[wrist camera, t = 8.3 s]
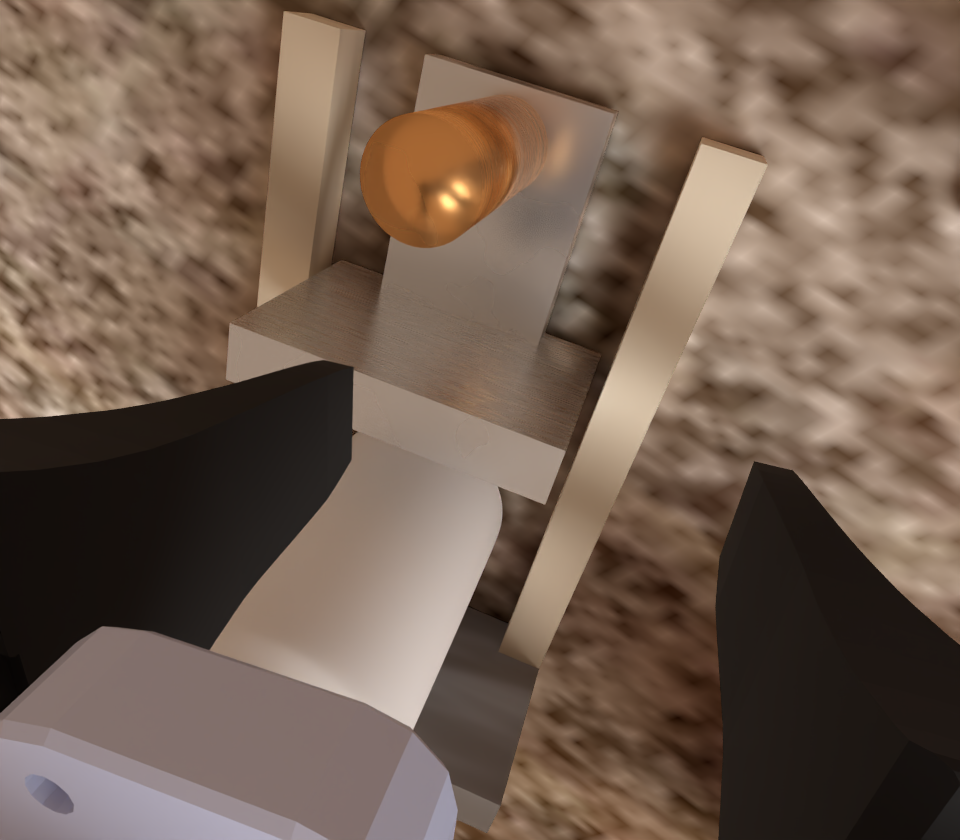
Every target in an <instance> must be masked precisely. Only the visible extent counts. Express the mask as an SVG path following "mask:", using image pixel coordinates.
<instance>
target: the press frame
mask: <svg viewBox="0 0 960 840" xmlns="http://www.w3.org/2000/svg"><path fill="white" fill-rule="evenodd" d="M365 32H366V30H363V29H359V28H356V27H353V26H350V25H347V24H344V23H340V22H337V21H334V20H331V19H328V18H325V17H321V16H318V15H315V14H311V13H300V12H289V11H284V14H283V25H282V36H281V47H280V58H279V69H278V80H277V91H276V102H275V113H274V124H273V135H272V147H271V158H270V169H269V180H268V191H267V202H266V213H265V224H264V235H263V246H262V257H261V268H260V279H259V290H258V301H257V307H259V306H261V305H262V304H264V303H266V302H268V301H269V300H271V299H273V298H275V297H277V296H278V295H280V294H282V293H284V292H285V291H287V290H289V289H291V288H292V287H294V286H296V285H298V284H299V283H301V282H303V281H305V280H307V279H308V278H310V277H312V276H314V275H315V274H317V273H319V272H321V271H322V270H324V269H326V268H328V267H329V266H331V264H332V257H333V250H334V243H335V237H336V230H337V223H338V216H339V209H340V202H341V196H342V189H343V182H344V175H345V168H346V161H347V155H348V148H349V141H350V134H351V127H352V120H353V114H354V107H355V100H356V93H357V86H358V79H359V73H360V66H361V59H362V52H363V45H364V38H365ZM767 165H768V164H767V162H766V160H765V158H764V156H761V155H758V154H755V153H752V152H748V151H745V150H742V149H739V148H736V147H733V146H730V145H726V144H723V143H720V142H717V141H714V140H711V139H707V138H704V137H702V139H701V141H700V144H699V146H698V149H697V151H696V154H695V156H694V159H693V161H692V164H691V166H690V169H689V171H688V174H687V176H686V179H685V181H684V184H683V186H682V189H681V191H680V194H679V196H678V199H677V201H676V204H675V206H674V209H673V211H672V214H671V216H670V219H669V222H668V224H667V227H666V229H665V232H664V234H663V237H662V239H661V242H660V244H659V247H658V249H657V252H656V254H655V257H654V259H653V262H652V264H651V267H650V269H649V272H648V274H647V277H646V279H645V282H644V284H643V287H642V289H641V292H640V294H639V297H638V299H637V302H636V304H635V307H634V309H633V312H632V314H631V317H630V319H629V322H628V324H627V327H626V330H625V332H624V335H623V337H622V340H621V342H620V345H619V347H618V350H617V352H616V355H615V357H614V360H613V362H612V365H611V367H610V370H609V372H608V375H607V377H606V380H605V382H604V385H603V387H602V390H601V392H600V395H599V397H598V400H597V402H596V405H595V407H594V410H593V412H592V415H591V417H590V420H589V422H588V425H587V427H586V430H585V432H584V435H583V438H582V440H581V443H580V445H579V448H578V450H577V453H576V455H575V458H574V460H573V463H572V465H571V468H570V470H569V473H568V475H567V478H566V480H565V483H564V485H563V488H562V490H561V493H560V495H559V498H558V500H557V503H556V505H555V508H554V510H553V513H552V515H551V518H550V520H549V523H548V525H547V528H546V530H545V533H544V535H543V538H542V540H541V543H540V546H539V548H538V551H537V553H536V556H535V558H534V561H533V563H532V566H531V568H530V571H529V573H528V576H527V578H526V581H525V583H524V586H523V588H522V591H521V593H520V596H519V598H518V601H517V603H516V606H515V608H514V611H513V613H512V616H511V618H510V621H509V623H506V622H503V621H501V620H498V619H496V618H494V617H491V616H489V615H486V614H484V613H482V612H479V611H477V610H474V609H472V608H470V607H467V609H466V611H465V614H464V616H463V618H462V620H461V623H460V625H459V627H458V630H457V632H456V634H455V636H454V639H453V641H452V643H451V645H450V648H449V650H448V652H447V655H446V657H445V659H444V661H443V664H442V666H441V668H440V670H439V673H438V675H437V677H436V679H435V682H434V684H433V686H432V688H431V691H430V693H429V695H428V697H427V700H426V702H425V704H424V706H423V709H422V711H421V713H420V715H419V718H418V720H417V722H416V724H415V727H414V729H413V730H414V732H415V733H416V734H417V735H418V736H419V737H420V738H421V739H422V740H423V741H424V743H425V744H426V745H427V746H428V747H429V748H430V749H431V750H432V751H433V752H434V754H435V755H436V756H437V757H438V758H439V759H440V760H441V761H442V762H443V764H444V765H445V767H446V769H447V770H448V772H449V776H450V780H451V784H452V788H453V793H454V797H455V801H456V805H457V809H458V812H457V818H456V819H457V820H459V821H462V822H464V823H466V824H468V825H470V826H472V827H475V828H477V829H479V830H481V831H483V832H486V833H487V832H488V830H489V828H490V826H491V824H492V822H493V820H494V818H495V816H496V814H497V812H498V810H499V808H500V806H501V802H502V798H503V795H504V791H505V788H506V784H507V781H508V777H509V773H510V770H511V766H512V763H513V759H514V756H515V752H516V749H517V745H518V741H519V738H520V734H521V731H522V727H523V724H524V720H525V716H526V713H527V709H528V706H529V702H530V699H531V695H532V691H533V688H534V684H535V681H536V677H537V674H538V670H539V667H540V665H541V663H542V661H543V659H544V656H545V654H546V652H547V650H548V648H549V645H550V643H551V641H552V639H553V637H554V634H555V632H556V630H557V628H558V626H559V623H560V621H561V619H562V617H563V615H564V612H565V610H566V608H567V606H568V604H569V601H570V599H571V597H572V595H573V593H574V590H575V588H576V586H577V584H578V582H579V579H580V577H581V575H582V573H583V571H584V568H585V566H586V564H587V562H588V560H589V557H590V555H591V553H592V551H593V549H594V546H595V544H596V542H597V540H598V538H599V535H600V533H601V531H602V529H603V527H604V524H605V522H606V520H607V518H608V516H609V513H610V511H611V509H612V507H613V504H614V502H615V500H616V498H617V496H618V493H619V491H620V489H621V487H622V485H623V482H624V480H625V478H626V476H627V474H628V471H629V469H630V467H631V465H632V463H633V460H634V458H635V456H636V454H637V452H638V449H639V447H640V445H641V443H642V441H643V438H644V436H645V434H646V432H647V430H648V427H649V425H650V423H651V421H652V419H653V416H654V414H655V412H656V410H657V408H658V405H659V403H660V401H661V399H662V397H663V394H664V392H665V390H666V388H667V386H668V383H669V381H670V379H671V377H672V375H673V372H674V370H675V368H676V366H677V364H678V361H679V359H680V357H681V355H682V353H683V350H684V348H685V346H686V344H687V342H688V339H689V337H690V335H691V333H692V331H693V328H694V326H695V324H696V322H697V320H698V317H699V315H700V313H701V311H702V309H703V306H704V304H705V302H706V300H707V297H708V295H709V293H710V291H711V289H712V286H713V284H714V282H715V280H716V278H717V275H718V273H719V271H720V269H721V267H722V264H723V262H724V260H725V258H726V256H727V253H728V251H729V249H730V247H731V245H732V242H733V240H734V238H735V236H736V234H737V231H738V229H739V227H740V225H741V223H742V220H743V218H744V216H745V214H746V212H747V209H748V207H749V205H750V203H751V201H752V198H753V196H754V194H755V192H756V190H757V187H758V185H759V183H760V181H761V179H762V176H763V174H764V172H765V170H766V168H767Z"/></svg>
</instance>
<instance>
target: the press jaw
mask: <svg viewBox="0 0 960 840" xmlns="http://www.w3.org/2000/svg"><path fill="white" fill-rule="evenodd" d="M618 112H619V111H617V110H614V109H611V108H608V107H604V106H601V105H598V104H595V103H592V102H589V101H585V100H582V99H579V98H576V97H573V96H570V95H566V94H563V93H560V92H557V91H554V90H551V89H548V88H544V87H541V86H538V85H535V84H532V83H529V82H525V81H522V80H519V79H516V78H513V77H510V76H506V75H503V74H500V73H497V72H494V71H491V70H487V69H484V68H481V67H478V66H475V65H472V64H468V63H465V62H462V61H459V60H456V59H453V58H449V57H446V56H443V55H440V54H425V57H424V63H423V68H422V73H421V79H420V84H419V89H418V94H417V100H416V105H415V110H414V112H412V113H408V114H403V115H399V116H397V117H394V118H392V119H390V120H388V121H387V122H385V123H384V124H383V125H381V126H380V127H379V128H378V129H377V130H376V131H375V132H374V134H373V135H372V137H371V138H370V139H369V141H368V143H367V145H366V147H365V150H364V153H363V156H362V161H361V168H360V182H361V189H362V193H363V197H364V200H365V203H366V205H367V207H368V209H369V211H370V213H371V215H372V216H373V218H374V220H375V221H376V222H377V223H378V225H379V226H380V227H381V228H382V229H383V230H384V231H385V232H386V233H387V234H389V235H390V236H391V237H390V243H389V248H388V253H387V259H386V264H385V269H384V275H383V274H380V273H377V272H374V271H371V270H369V269H366V268H363V267H360V266H358V265H355V264H352V263H349V262H347V261H344V260H340V261H338V262H337V263H335V264H333V265H331V266H329V267H328V268H326V269H324V270H322V271H321V272H319V273H317V274H315V275H314V276H312V277H310V278H308V279H307V280H305V281H303V282H301V283H299V284H298V285H296V286H294V287H292V288H291V289H289V290H287V291H285V292H284V293H282V294H280V295H278V296H277V297H275V298H273V299H271V300H269V301H268V302H266V303H264V304H262V305H261V306H259V307H257V308H255V309H254V310H252V311H250V312H248V313H246V314H245V315H243V316H241V317H239V318H238V319H236V320H234V321H232V322H231V323H230V326H229V340H228V355H227V369H226V380H228V381H231V382H234V383H237V382H241V381H244V380H248V379H251V378H254V377H258V376H261V375H265V374H268V373H272V372H275V371H279V370H282V369H286V368H289V367H293V366H297V365H300V364H304V363H309V362H314V361H320V360H326V361H331V362H335V363H339V364H343V365H347V366H352V367H354V374H353V422H352V429H353V430H356V431H358V432H361V433H363V434H366V435H368V436H371V437H374V438H376V439H379V440H381V441H384V442H386V443H389V444H391V445H394V446H396V447H399V448H402V449H404V450H407V451H409V452H412V453H414V454H417V455H419V456H422V457H424V458H427V459H430V460H432V461H435V462H437V463H440V464H442V465H445V466H447V467H450V468H452V469H455V470H458V471H460V472H463V473H465V474H468V475H470V476H473V477H475V478H478V479H480V480H483V481H486V482H488V483H491V484H493V485H496V486H498V487H501V488H503V489H506V490H508V491H511V492H514V493H516V494H519V495H521V496H524V497H526V498H529V499H531V500H534V501H536V502H539V503H542V504H544V505H545V504H546V501H547V499H548V496H549V493H550V491H551V488H552V486H553V483H554V481H555V478H556V475H557V473H558V470H559V468H560V465H561V463H562V460H563V457H564V455H565V452H566V450H567V447H568V444H569V441H570V439H571V436H572V433H573V430H574V428H575V425H576V422H577V419H578V417H579V414H580V411H581V408H582V406H583V403H584V400H585V398H586V395H587V392H588V389H589V387H590V384H591V381H592V378H593V376H594V373H595V370H596V367H597V365H598V362H599V359H600V356H601V353H598V352H596V351H593V350H590V349H587V348H585V347H582V346H579V345H576V344H574V343H571V342H568V341H565V340H562V339H560V338H557V337H554V336H551V335H549V334H546V333H545V332H546V329H547V326H548V323H549V320H550V317H551V314H552V311H553V308H554V305H555V302H556V299H557V296H558V293H559V290H560V287H561V284H562V281H563V278H564V275H565V272H566V269H567V266H568V263H569V260H570V257H571V254H572V251H573V248H574V244H575V241H576V238H577V235H578V232H579V229H580V226H581V223H582V220H583V217H584V214H585V211H586V208H587V205H588V202H589V199H590V196H591V193H592V190H593V187H594V184H595V181H596V178H597V175H598V172H599V169H600V166H601V163H602V160H603V157H604V154H605V151H606V148H607V145H608V142H609V139H610V136H611V133H612V130H613V127H614V124H615V121H616V118H617V115H618Z"/></svg>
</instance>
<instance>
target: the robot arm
mask: <svg viewBox="0 0 960 840" xmlns="http://www.w3.org/2000/svg"><path fill="white" fill-rule="evenodd" d="M353 374H354V367H352V366H347V365H343V364H339V363H335V362H331V361H326V360H320V361H314V362H309V363H304V364H300V365H297V366H293V367H289V368H286V369H282V370H279V371H275V372H272V373H268V374H265V375H261V376H258V377H254V378H251V379H248V380H244V381H241V382H237V383H234V384H230V385H227V386H223V387H219V388H215V389H211V390H207V391H203V392H199V393H195V394H191V395H187V396H183V397H179V398H175V399H170V400H166V401H161V402H156V403H151V404H145V405H139V406H133V407H127V408H121V409H115V410H108V411H98V412H89V413H79V414H70V415H60V416H50V417H35V418H16V419H0V840H453V837H454V831H455V825H456V818H457V812H458V809H457V805H456V801H455V797H454V793H453V788H452V784H451V780H450V776H449V772H448V770H447V769H446V767H445V765H444V764H443V762H442V761H441V760H440V759H439V758H438V757H437V756H436V755H435V754H434V752H433V751H432V750H431V749H430V748H429V747H428V746H427V745H426V744H425V743H424V741H423V740H422V739H421V738H420V737H419V736H418V735H417V734H416V733H415V732H414V730H413V729H412V728H411V727H409V726H407V725H405V724H403V723H402V722H400V721H398V720H396V719H394V718H392V717H390V716H388V715H387V714H385V713H383V712H381V711H379V710H377V709H375V708H374V707H372V706H370V705H368V704H366V703H364V702H361V701H358V700H355V699H352V698H349V697H346V696H343V695H340V694H337V693H334V692H331V691H328V690H325V689H322V688H319V687H316V686H313V685H311V684H308V683H305V682H302V681H299V680H296V679H293V678H290V677H287V676H284V675H281V674H278V673H275V672H272V671H269V670H266V669H263V668H260V667H257V666H254V665H251V664H248V663H245V662H242V661H239V660H236V659H233V658H230V657H227V656H224V655H222V654H219V653H216V652H213V651H210V649H211V647H212V646H213V644H214V643H215V641H216V640H217V638H218V637H219V635H220V634H221V632H222V631H223V629H224V628H225V626H226V625H227V623H228V622H229V620H230V619H231V617H232V616H233V614H234V613H235V612H236V610H237V609H238V607H239V606H240V604H241V603H242V601H243V600H244V598H245V597H246V596H247V595H248V593H249V592H250V591H251V589H252V588H253V587H254V586H255V584H256V583H257V582H258V580H259V579H260V578H261V577H262V576H263V575H264V573H265V572H266V571H267V570H268V569H269V568H270V566H271V565H272V564H273V563H274V562H275V561H276V559H277V558H278V557H279V556H280V555H281V554H282V553H283V551H284V550H285V549H286V548H287V547H288V546H289V544H290V543H291V542H292V541H293V540H294V539H295V537H296V536H297V535H298V534H299V533H300V532H301V530H302V529H303V528H304V527H305V526H306V525H307V523H308V522H309V521H310V520H311V519H312V517H313V516H314V515H315V514H316V513H317V511H318V510H319V509H320V508H321V507H322V505H323V504H324V503H325V502H326V500H327V499H328V498H329V496H330V495H331V493H332V491H333V490H334V488H335V487H336V485H337V484H338V482H339V480H340V479H341V477H342V475H343V474H344V472H345V470H346V469H347V467H348V465H349V463H350V462H351V460H352V422H353ZM716 626H717V643H718V659H719V674H720V690H721V705H722V720H723V765H722V785H721V806H720V822H719V837H718V840H960V645H959V644H958V643H957V642H956V641H954V640H953V639H952V638H951V637H949V636H948V635H947V634H946V633H945V632H944V631H942V630H941V629H940V628H939V627H938V626H937V625H936V624H935V623H933V622H932V621H931V620H930V619H929V618H928V617H927V616H925V615H924V614H923V613H922V612H921V611H920V610H919V609H917V608H916V607H915V606H914V605H913V604H912V603H911V602H910V601H909V600H908V599H907V598H906V597H905V596H903V595H902V594H901V593H900V592H899V591H898V590H897V589H896V588H895V587H894V586H893V585H892V584H891V583H890V582H889V581H888V580H887V579H886V577H885V576H884V575H883V574H882V573H881V572H880V571H879V570H878V569H877V568H876V567H875V566H874V565H873V564H872V563H871V562H870V561H869V560H868V559H867V558H866V556H865V555H864V554H863V553H862V552H861V551H860V550H859V549H858V548H857V546H856V545H855V544H854V543H853V542H852V541H851V540H850V538H849V537H848V536H847V535H846V534H845V533H844V531H843V530H842V529H841V528H840V527H839V526H838V524H837V523H836V522H835V521H834V519H833V518H832V517H831V516H830V515H829V513H828V512H827V511H826V510H825V508H824V507H823V506H822V505H821V503H820V502H819V501H818V500H817V499H816V497H815V496H814V495H813V494H812V492H811V491H810V490H809V489H808V487H807V486H806V485H805V484H804V482H803V481H802V480H801V479H800V478H799V477H798V475H797V474H796V473H795V472H794V471H793V470H788V469H784V468H780V467H776V466H772V465H767V464H763V463H759V462H755V461H754V463H753V466H752V469H751V472H750V474H749V477H748V480H747V483H746V486H745V488H744V491H743V494H742V497H741V499H740V502H739V505H738V508H737V510H736V513H735V516H734V519H733V522H732V524H731V527H730V530H729V533H728V535H727V538H726V541H725V544H724V546H723V549H722V552H721V555H720V559H719V570H718V581H717V594H716Z"/></svg>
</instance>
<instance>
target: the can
mask: <svg viewBox="0 0 960 840" xmlns="http://www.w3.org/2000/svg"><path fill="white" fill-rule="evenodd" d="M501 523H502V501H501V496H500V492H499V489H498V486H496V485H493V484H491V483H488V482H486V481H483V480H480V479H478V478H475V477H473V476H470V475H468V474H465V473H463V472H460V471H458V470H455V469H452V468H450V467H447V466H445V465H442V464H440V463H437V462H435V461H432V460H430V459H427V458H424V457H422V456H419V455H417V454H414V453H412V452H409V451H407V450H404V449H402V448H399V447H396V446H394V445H391V444H389V443H386V442H384V441H381V440H379V439H376V438H374V437H371V436H368V435H366V434H363V433H361V432H357V433H356V434H354V435H353V436H352V460H351V462H350V463H349V465H348V467H347V469H346V470H345V472H344V474H343V475H342V477H341V479H340V480H339V482H338V484H337V485H336V487H335V488H334V490H333V491H332V493H331V495H330V496H329V498H328V499H327V500H326V502H325V503H324V504H323V505H322V507H321V508H320V509H319V510H318V511H317V513H316V514H315V515H314V516H313V517H312V519H311V520H310V521H309V522H308V523H307V525H306V526H305V527H304V528H303V529H302V530H301V532H300V533H299V534H298V535H297V536H296V537H295V539H294V540H293V541H292V542H291V543H290V544H289V546H288V547H287V548H286V549H285V550H284V551H283V553H282V554H281V555H280V556H279V557H278V558H277V559H276V561H275V562H274V563H273V564H272V565H271V566H270V568H269V569H268V570H267V571H266V572H265V573H264V575H263V576H262V577H261V578H260V579H259V580H258V582H257V583H256V584H255V586H254V587H253V588H252V589H251V591H250V592H249V593H248V595H247V596H246V597H245V598H244V600H243V601H242V603H241V604H240V606H239V607H238V609H237V610H236V612H235V613H234V614H233V616H232V617H231V619H230V620H229V622H228V623H227V625H226V626H225V628H224V629H223V631H222V632H221V634H220V635H219V637H218V638H217V640H216V641H215V643H214V644H213V646H212V647H211V649H210V651H213V652H216V653H219V654H222V655H224V656H227V657H230V658H233V659H236V660H239V661H242V662H245V663H248V664H251V665H254V666H257V667H260V668H263V669H266V670H269V671H272V672H275V673H278V674H281V675H284V676H287V677H290V678H293V679H296V680H299V681H302V682H305V683H308V684H311V685H313V686H316V687H319V688H322V689H325V690H328V691H331V692H334V693H337V694H340V695H343V696H346V697H349V698H352V699H355V700H358V701H361V702H364V703H366V704H368V705H370V706H372V707H374V708H375V709H377V710H379V711H381V712H383V713H385V714H387V715H388V716H390V717H392V718H394V719H396V720H398V721H400V722H402V723H403V724H405V725H407V726H409V727H411V728H412V729H414V727H415V724H416V722H417V720H418V718H419V715H420V713H421V711H422V709H423V706H424V704H425V702H426V700H427V697H428V695H429V693H430V691H431V688H432V686H433V684H434V682H435V679H436V677H437V675H438V673H439V670H440V668H441V666H442V664H443V661H444V659H445V657H446V655H447V652H448V650H449V648H450V645H451V643H452V641H453V639H454V636H455V634H456V632H457V630H458V627H459V625H460V623H461V620H462V618H463V616H464V614H465V611H466V609H467V607H468V605H469V602H470V600H471V598H472V595H473V593H474V591H475V589H476V586H477V584H478V582H479V579H480V577H481V575H482V572H483V570H484V568H485V565H486V563H487V561H488V558H489V556H490V554H491V551H492V549H493V547H494V544H495V542H496V539H497V537H498V534H499V531H500V527H501Z"/></svg>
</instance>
